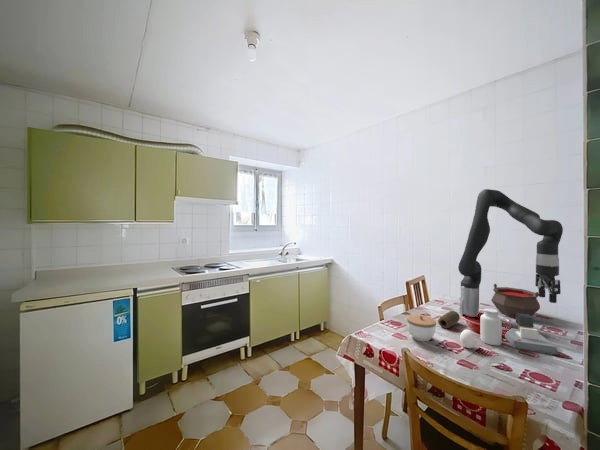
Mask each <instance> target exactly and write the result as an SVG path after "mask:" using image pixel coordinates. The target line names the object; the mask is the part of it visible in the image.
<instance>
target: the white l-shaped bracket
mask: <svg viewBox="0 0 600 450" xmlns="http://www.w3.org/2000/svg"><path fill="white" fill-rule="evenodd" d="M516 333H517V334H518V335H519V336H520V337H521V338H527V339H534V340H538V333H539V330H538V329H536V328H531V329H529V328H522V327H520V332H519V331H516Z"/></svg>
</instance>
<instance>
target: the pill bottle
mask: <svg viewBox="0 0 600 450" xmlns="http://www.w3.org/2000/svg"><path fill="white" fill-rule="evenodd" d="M479 317H480V318H479V319H480V320H479V321H480V330H479V331H480V340H481V342H483V343H484V344H487V345H491V346H501V345H502V340H503V339H502V338H503V337H502V335H503V334H502V327H503V324H502V323H503V322H502V318H501V317H500V316H499V310H498V309H494V308H483V314H481V315H480V316H479Z"/></svg>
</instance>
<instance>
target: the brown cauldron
mask: <svg viewBox="0 0 600 450" xmlns="http://www.w3.org/2000/svg"><path fill="white" fill-rule="evenodd" d="M492 290H493V291H494V294H493V296H492V297H491V299H490V300H491V302H492V304H493V305H494V306H495V307H496V310H497V311H498V312H499V313H500V314H503V315H505V316H507V317H511V318H512V317H513V318H516V313H521V314H529V315H530V316H531V317H533V316H534V315H535V314H536V313H537V312H538V311H540V309H541V305H540V303H539V301H538V297H539V291H535V292H533V291H530V290H527V289H522V288H514V287H508V286H503V287H502V286H498V284H497V283H494V284H493V289H492Z"/></svg>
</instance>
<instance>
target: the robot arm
mask: <svg viewBox="0 0 600 450" xmlns="http://www.w3.org/2000/svg"><path fill="white" fill-rule="evenodd" d="M475 204H476V205H475V210H474V215H473V218H472V219H473V220H472V221H471V226H470V229H469V233H468V236H467V237H468V238H467V240H466V243H465V248H464V250H463V251H464V252H463V254H462V255H461V257H460V260H459V263H458V267H457V268H458V271H459V273H460V274H461V275H462V276H463V279H462V280H461V281H460V297H459V315H461V316H460V317H463V316H462V315H463V314H466V315H469V316H477V315H478V314H479V315H480V285H481V283H482V266H481V263H480V262H479V261H478V259H477V258H478V256H479V254H480V252H481V251H482V249H484V247H485V245H486V244H487V242H488V241H489V237H490V233H491V226H490V223H489V219H488V214H489V211H490V207H495V208H498V209H500V210H501V209H502V210H503V211H505V212H506V213H508V215H509V216H510V217H511V218H512V219H513V220H516V221H517V222H519V223H521V224H522V225H525V227H526V228H528V229H529V230H530V232H532V233H534V234H535V235H538V236H543V237H542V239H541V240H539V241H538V242H537V243H536V256H535V285H534V286H535V287H537V289H538V293H539V296H538V297H539V298H546V290H547V291H548V301H549V303H551V304H552V303H553V304H556V303H557V302H558V300H557V295H561V294H562V293H561V280H560V279H556V277H559V276H560V258H559V245H560V242H561V239H562V235H563V234H564V233H563V232H564V229H563V225H562V223H561V222H560V221H558V220H555V219H542V218H541V217H540V215H539V213H537V212H535V211H533V210H531V209H529V208H528V207H525V206H523V205H522V204H519V202H518V203H517V202H516V201H514V200H513V199H512V198H510V197H509V196H507V195H506V194H504V193H503V192H502V191H500V190H496V189H489V188H485V189H482V190H481V191H480V192H479V193H478V195H477V199H476V203H475Z"/></svg>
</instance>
